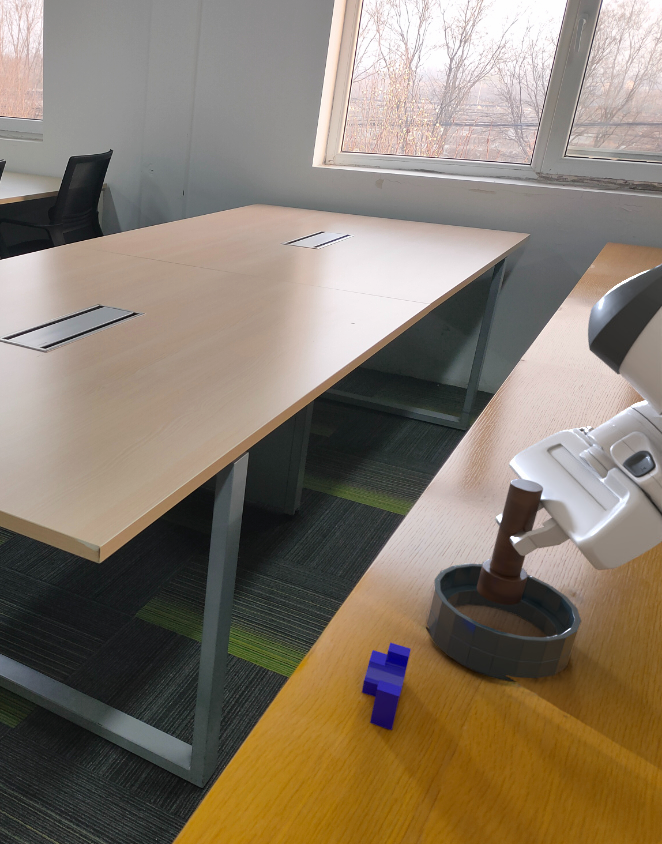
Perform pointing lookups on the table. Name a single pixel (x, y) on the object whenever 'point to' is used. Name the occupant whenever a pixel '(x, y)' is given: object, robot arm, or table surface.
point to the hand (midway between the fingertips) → (507, 537)
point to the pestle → (510, 545)
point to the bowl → (493, 647)
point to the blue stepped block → (386, 683)
